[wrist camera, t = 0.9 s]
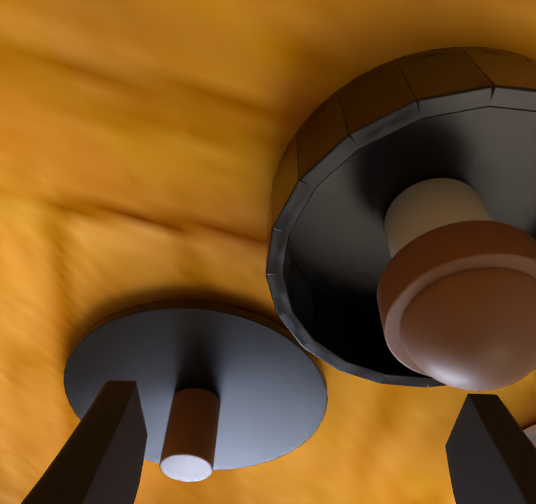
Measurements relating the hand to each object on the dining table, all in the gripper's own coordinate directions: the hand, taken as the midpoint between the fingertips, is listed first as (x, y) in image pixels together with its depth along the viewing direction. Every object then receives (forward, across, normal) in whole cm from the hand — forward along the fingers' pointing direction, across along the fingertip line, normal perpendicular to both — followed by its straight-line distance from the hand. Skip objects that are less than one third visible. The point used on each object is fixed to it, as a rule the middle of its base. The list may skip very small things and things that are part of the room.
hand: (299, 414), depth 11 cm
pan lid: (+9, +4, +12) cm, 15 cm away
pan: (+10, -5, +1) cm, 11 cm away
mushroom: (+9, -5, +1) cm, 11 cm away
